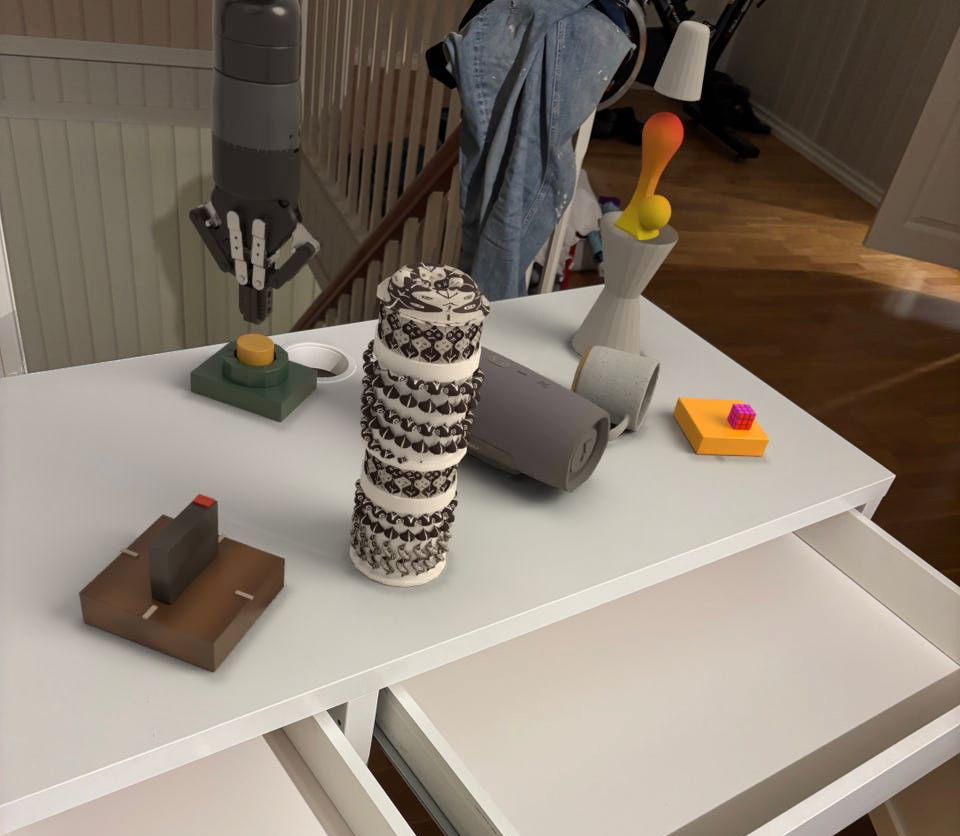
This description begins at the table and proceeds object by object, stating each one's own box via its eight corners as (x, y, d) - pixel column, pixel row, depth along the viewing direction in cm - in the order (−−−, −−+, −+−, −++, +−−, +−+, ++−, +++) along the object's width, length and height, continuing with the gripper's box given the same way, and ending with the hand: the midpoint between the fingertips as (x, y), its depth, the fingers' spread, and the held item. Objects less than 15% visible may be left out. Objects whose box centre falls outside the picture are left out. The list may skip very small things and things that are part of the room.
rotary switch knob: (170, 604, 72) (166, 549, 68) (151, 597, 72) (146, 542, 68) (219, 552, 77) (217, 498, 73) (201, 545, 77) (198, 491, 73)
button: (230, 360, 97) (229, 344, 95) (248, 345, 99) (248, 329, 98) (262, 371, 96) (263, 355, 95) (280, 356, 99) (280, 340, 97)
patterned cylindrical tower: (331, 575, 82) (355, 289, 64) (360, 512, 88) (388, 238, 71) (438, 600, 81) (489, 321, 64) (458, 536, 88) (509, 267, 71)
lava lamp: (555, 339, 120) (632, 10, 96) (605, 326, 125) (691, 10, 101) (606, 374, 115) (701, 38, 91) (656, 359, 120) (758, 37, 96)
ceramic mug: (580, 389, 111) (596, 327, 106) (648, 412, 110) (668, 350, 105) (552, 432, 104) (567, 367, 99) (624, 457, 103) (644, 393, 97)
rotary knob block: (81, 622, 73) (76, 591, 71) (164, 541, 81) (162, 511, 79) (215, 673, 72) (214, 643, 69) (286, 586, 80) (287, 556, 77)
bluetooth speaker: (599, 480, 99) (625, 392, 92) (552, 519, 92) (577, 428, 86) (420, 388, 106) (432, 301, 99) (366, 419, 100) (375, 328, 93)
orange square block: (696, 454, 105) (709, 420, 103) (672, 414, 111) (683, 380, 108) (762, 456, 107) (776, 423, 105) (735, 416, 113) (748, 384, 110)
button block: (190, 392, 98) (189, 355, 95) (231, 359, 104) (230, 324, 101) (280, 423, 97) (281, 387, 94) (316, 388, 102) (318, 353, 100)
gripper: (163, 119, 81) (174, 314, 93) (307, 162, 79) (299, 356, 91) (210, 99, 86) (215, 286, 98) (346, 139, 85) (334, 325, 97)
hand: (255, 320), depth 95 cm, fingers closed
